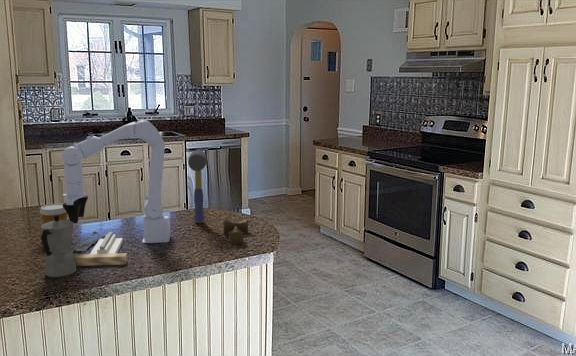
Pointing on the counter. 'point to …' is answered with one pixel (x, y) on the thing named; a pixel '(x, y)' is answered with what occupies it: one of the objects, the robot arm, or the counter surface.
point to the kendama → (235, 230)
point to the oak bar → (100, 259)
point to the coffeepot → (58, 247)
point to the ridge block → (108, 245)
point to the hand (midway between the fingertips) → (77, 220)
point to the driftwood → (83, 245)
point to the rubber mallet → (198, 182)
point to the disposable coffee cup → (53, 212)
